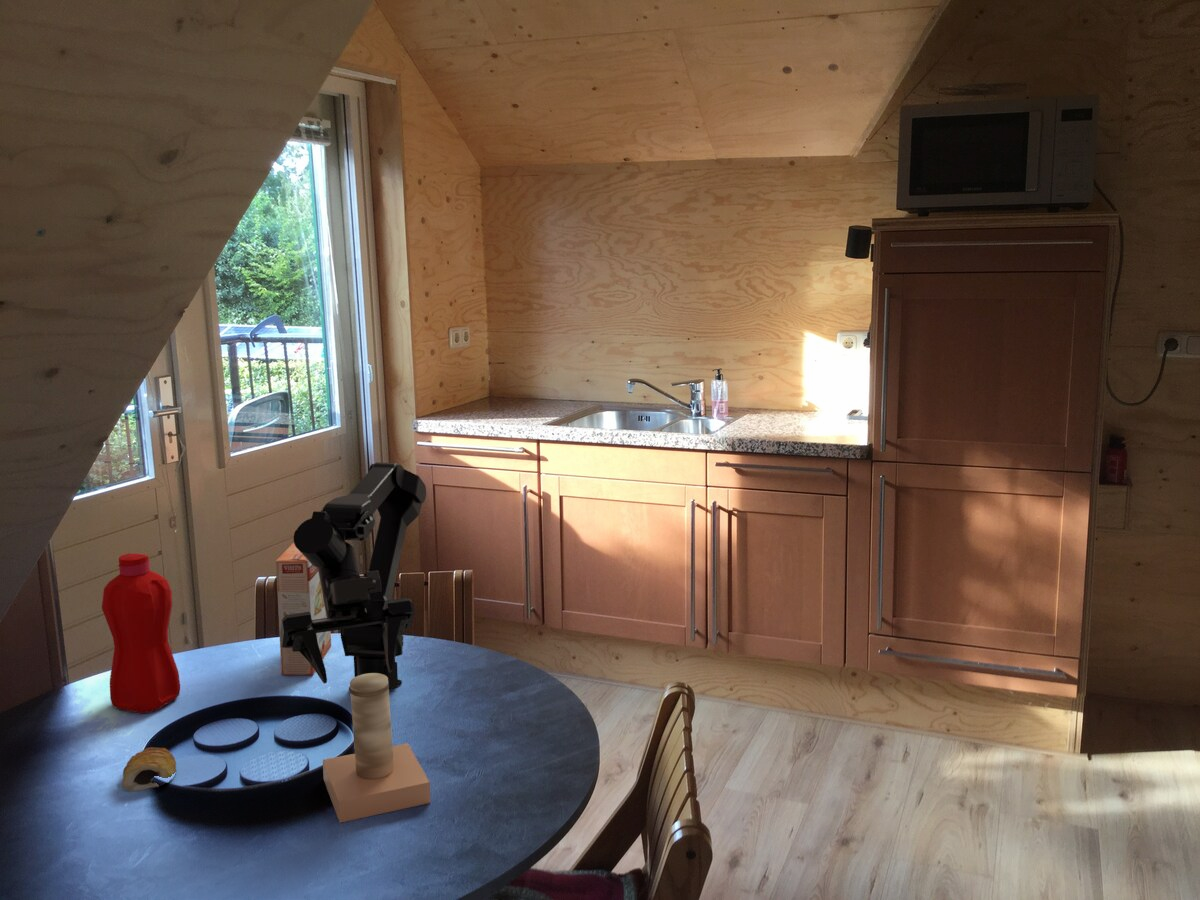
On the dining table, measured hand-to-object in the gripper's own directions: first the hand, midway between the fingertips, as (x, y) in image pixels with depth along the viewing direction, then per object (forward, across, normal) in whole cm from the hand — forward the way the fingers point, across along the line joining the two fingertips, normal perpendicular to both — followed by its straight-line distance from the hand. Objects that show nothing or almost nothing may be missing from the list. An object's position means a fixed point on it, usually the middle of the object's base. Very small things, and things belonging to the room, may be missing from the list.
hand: (358, 676), depth 148 cm
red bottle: (-15, -27, +34) cm, 46 cm away
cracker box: (-19, -1, +38) cm, 43 cm away
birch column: (+13, 0, +1) cm, 13 cm away
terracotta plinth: (+16, 0, +3) cm, 16 cm away
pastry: (+4, -28, +15) cm, 32 cm away
